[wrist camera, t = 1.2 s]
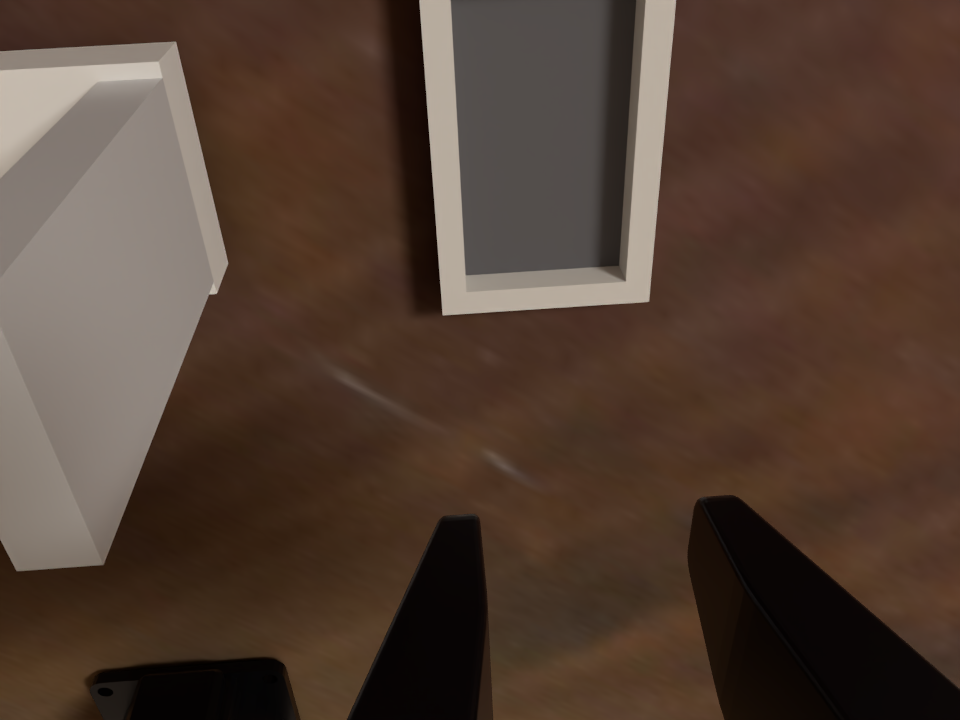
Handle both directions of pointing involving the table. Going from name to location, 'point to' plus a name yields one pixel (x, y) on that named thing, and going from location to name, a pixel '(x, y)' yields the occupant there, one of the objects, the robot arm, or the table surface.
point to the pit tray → (545, 148)
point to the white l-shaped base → (93, 284)
